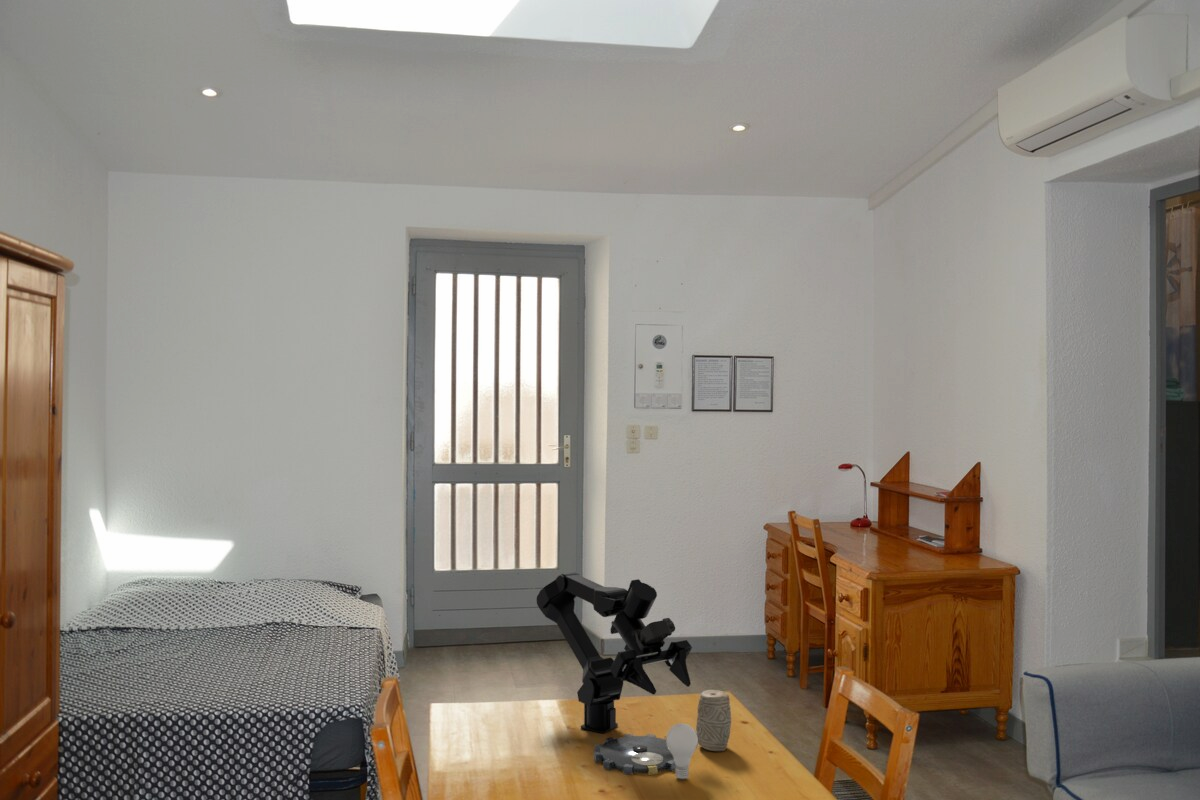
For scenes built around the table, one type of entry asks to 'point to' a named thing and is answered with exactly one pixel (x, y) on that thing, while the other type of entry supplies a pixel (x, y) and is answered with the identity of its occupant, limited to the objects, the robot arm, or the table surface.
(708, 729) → the carving
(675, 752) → the lightbulb
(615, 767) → the sprocket plate
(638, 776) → the table surface
